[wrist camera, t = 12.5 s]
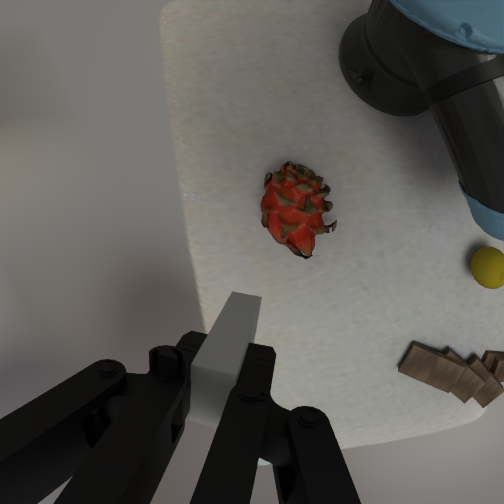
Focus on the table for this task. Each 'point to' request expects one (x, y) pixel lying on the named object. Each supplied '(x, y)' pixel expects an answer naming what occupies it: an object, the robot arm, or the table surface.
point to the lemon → (488, 267)
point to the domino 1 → (431, 367)
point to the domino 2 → (465, 379)
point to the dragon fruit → (295, 208)
